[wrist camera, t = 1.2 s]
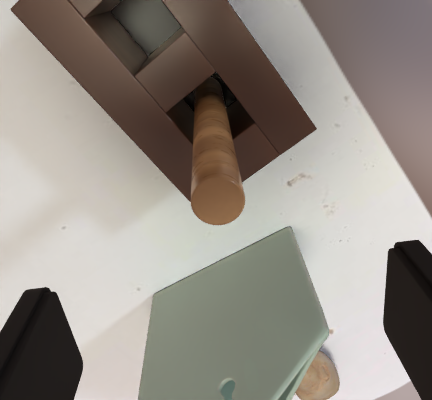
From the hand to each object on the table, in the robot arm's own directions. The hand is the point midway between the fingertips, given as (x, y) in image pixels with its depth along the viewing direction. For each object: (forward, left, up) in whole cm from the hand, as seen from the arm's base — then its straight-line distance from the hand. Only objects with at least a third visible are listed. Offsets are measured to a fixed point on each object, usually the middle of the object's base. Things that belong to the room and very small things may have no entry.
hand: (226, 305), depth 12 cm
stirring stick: (0, 0, -26) cm, 26 cm away
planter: (+21, 0, -26) cm, 33 cm away
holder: (-3, -2, -26) cm, 26 cm away
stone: (+34, +7, -26) cm, 43 cm away
